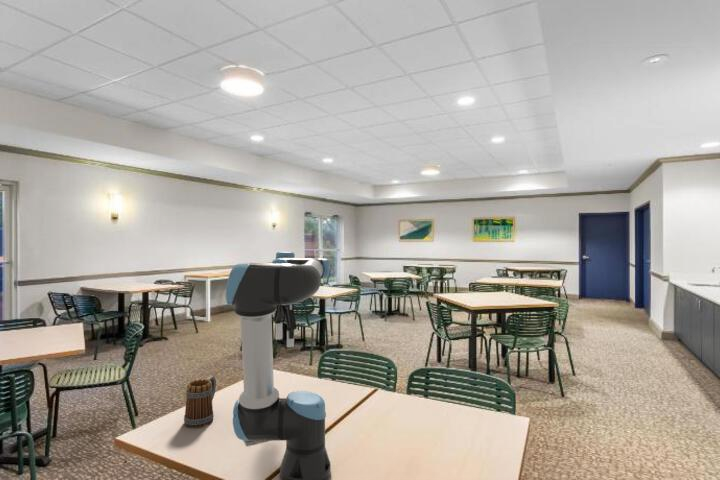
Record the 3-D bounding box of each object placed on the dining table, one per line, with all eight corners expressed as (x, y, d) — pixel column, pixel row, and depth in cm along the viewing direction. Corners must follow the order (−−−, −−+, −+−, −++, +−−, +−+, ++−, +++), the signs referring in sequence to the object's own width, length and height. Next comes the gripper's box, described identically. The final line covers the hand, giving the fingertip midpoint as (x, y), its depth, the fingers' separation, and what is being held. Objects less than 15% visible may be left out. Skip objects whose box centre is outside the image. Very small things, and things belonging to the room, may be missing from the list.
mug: (203, 429, 147) (203, 389, 147) (177, 426, 149) (178, 386, 149) (225, 411, 162) (226, 375, 162) (202, 409, 164) (202, 373, 164)
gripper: (305, 293, 151) (305, 349, 151) (283, 286, 173) (282, 335, 173) (286, 294, 148) (286, 351, 148) (266, 287, 169) (265, 337, 169)
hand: (284, 342), depth 160 cm, fingers open, 13 cm apart
